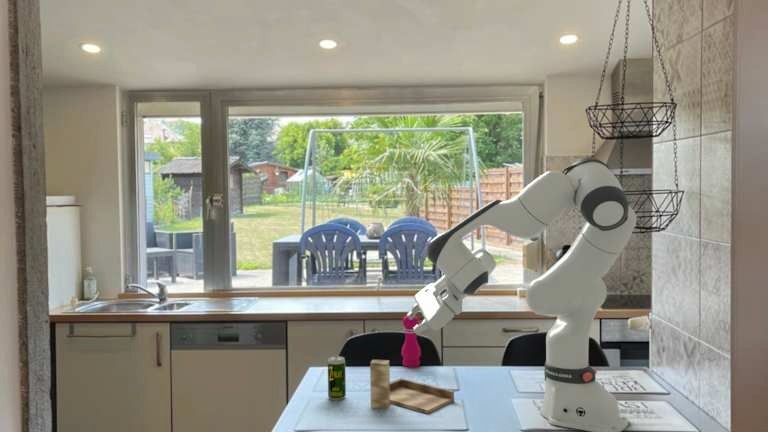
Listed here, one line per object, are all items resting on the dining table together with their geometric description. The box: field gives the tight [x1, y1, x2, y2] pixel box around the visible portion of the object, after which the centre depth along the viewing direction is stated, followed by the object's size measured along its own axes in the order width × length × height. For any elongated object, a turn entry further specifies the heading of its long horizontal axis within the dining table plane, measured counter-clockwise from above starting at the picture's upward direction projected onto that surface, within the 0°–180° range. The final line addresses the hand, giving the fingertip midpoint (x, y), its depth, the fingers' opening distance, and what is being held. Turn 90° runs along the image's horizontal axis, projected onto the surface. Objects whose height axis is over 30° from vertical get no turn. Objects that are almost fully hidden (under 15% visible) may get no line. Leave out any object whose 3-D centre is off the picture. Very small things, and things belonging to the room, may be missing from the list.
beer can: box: [327, 356, 347, 401], centre depth 171 cm, size 5×5×12 cm
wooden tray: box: [390, 377, 455, 415], centre depth 168 cm, size 20×13×3 cm, turn 49°
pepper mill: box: [400, 309, 422, 368], centre depth 205 cm, size 7×7×20 cm
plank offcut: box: [369, 359, 391, 409], centre depth 163 cm, size 5×4×13 cm
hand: (411, 324), depth 161 cm, fingers open, 8 cm apart
